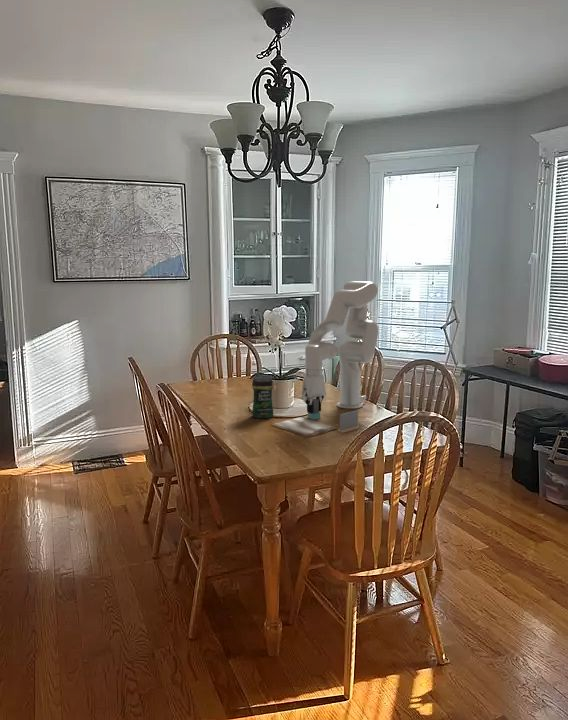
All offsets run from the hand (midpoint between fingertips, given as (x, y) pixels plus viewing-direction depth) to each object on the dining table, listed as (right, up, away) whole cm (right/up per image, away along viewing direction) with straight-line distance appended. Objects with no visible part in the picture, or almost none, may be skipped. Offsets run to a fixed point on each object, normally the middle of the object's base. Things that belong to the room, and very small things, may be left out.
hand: (314, 411), depth 263 cm
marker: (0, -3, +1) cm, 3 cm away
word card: (+14, -6, -18) cm, 23 cm away
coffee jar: (-23, -3, +4) cm, 24 cm away
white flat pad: (-5, -6, -14) cm, 16 cm away
